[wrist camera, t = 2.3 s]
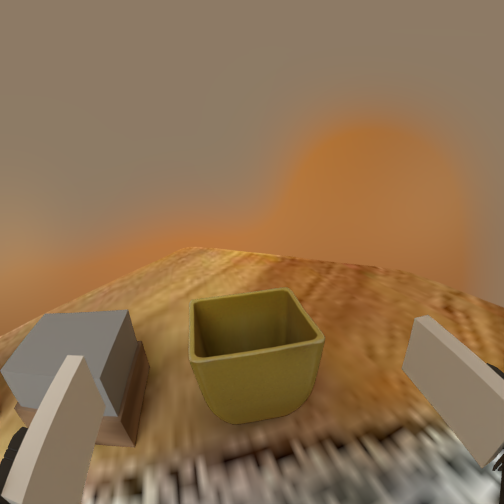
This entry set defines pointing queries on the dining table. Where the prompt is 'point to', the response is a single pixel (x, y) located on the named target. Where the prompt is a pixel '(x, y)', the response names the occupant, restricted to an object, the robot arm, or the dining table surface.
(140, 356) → the walnut base slab
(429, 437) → the dining table surface
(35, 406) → the grey top slab
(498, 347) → the dining table surface
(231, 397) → the flower pot
